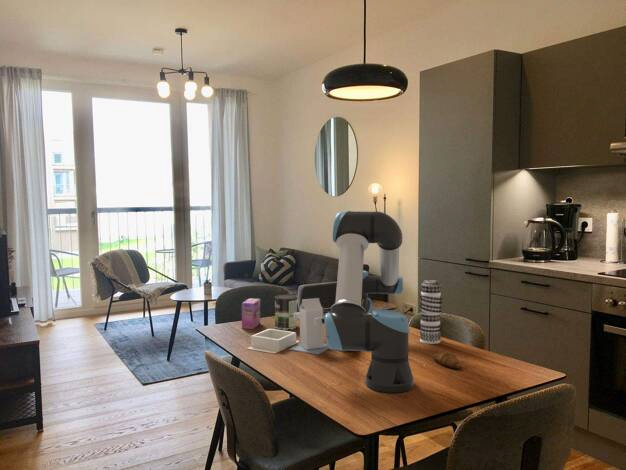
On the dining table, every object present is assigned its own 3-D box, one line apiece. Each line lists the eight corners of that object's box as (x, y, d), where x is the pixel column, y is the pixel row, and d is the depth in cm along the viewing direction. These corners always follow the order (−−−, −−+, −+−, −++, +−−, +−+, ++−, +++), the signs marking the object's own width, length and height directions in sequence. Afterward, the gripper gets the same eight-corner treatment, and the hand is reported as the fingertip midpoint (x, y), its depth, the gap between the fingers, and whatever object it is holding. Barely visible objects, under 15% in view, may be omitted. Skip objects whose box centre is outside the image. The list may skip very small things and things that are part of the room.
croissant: (467, 369, 182) (467, 355, 182) (451, 372, 180) (451, 357, 179) (442, 358, 195) (442, 345, 194) (427, 360, 192) (427, 347, 192)
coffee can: (277, 330, 233) (277, 299, 232) (272, 325, 243) (272, 295, 242) (300, 328, 236) (300, 297, 235) (294, 323, 246) (293, 293, 245)
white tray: (274, 353, 199) (274, 342, 199) (246, 349, 206) (246, 337, 205) (300, 341, 216) (299, 330, 216) (273, 337, 222) (273, 326, 222)
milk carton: (323, 347, 205) (322, 299, 204) (306, 350, 203) (305, 301, 201) (316, 343, 212) (315, 296, 210) (300, 345, 209) (299, 298, 208)
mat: (318, 354, 198) (318, 353, 198) (288, 349, 205) (288, 348, 205) (333, 345, 210) (333, 345, 210) (305, 341, 216) (305, 340, 216)
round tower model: (414, 340, 217) (414, 280, 215) (427, 336, 223) (428, 278, 221) (432, 345, 210) (433, 283, 208) (446, 341, 217) (447, 280, 215)
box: (253, 329, 236) (253, 303, 235) (241, 328, 237) (241, 302, 236) (260, 323, 246) (260, 298, 245) (249, 323, 247) (248, 298, 246)
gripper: (364, 324, 210) (325, 334, 195) (323, 315, 227) (284, 323, 212) (364, 306, 210) (325, 314, 195) (323, 297, 227) (284, 305, 212)
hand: (304, 319), depth 204 cm, fingers open, 11 cm apart
